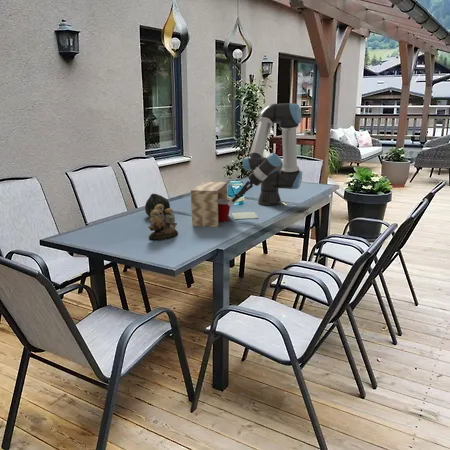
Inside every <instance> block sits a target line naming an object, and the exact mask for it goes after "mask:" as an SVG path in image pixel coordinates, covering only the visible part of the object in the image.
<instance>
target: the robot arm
mask: <svg viewBox="0 0 450 450" xmlns="http://www.w3.org/2000/svg"><path fill="white" fill-rule="evenodd" d="M256 121H257V127H256V131H255V134H254V138H253V139H252V140H253V142H252V145H251V148H250V152H249V154H248V156H246V157H244V158H243V159H242V167H243V169H244V170H245V171H250V172H251V171H252V172H251V173H250V174H249V175H248V179H249V180H247V181H246V183H245V184H244V185H242V187H241V189H240V190H238V192H236V193H234V195H233V197H231V199H229V200H230V201H229V202H228V203H227V204H228V205H229V206H230V208H231V207H232V206H233V205H234V204H235V203H236V202H237V201H238V200H239V199H241V197H242V196H243V195H245V194H246V193H247V192H248V191H249V190H250V189H252V188H253V187H254V186H255V187H258V186H259V185H260V193H259V196H258V200H257V204H258V205H260V206H265V207H266V206H268V207H269V206H271V207H273V206H279V205H281V204H282V199H281V195H280V193H279V189H282V190H283V189H285V190H298V189H299V188H300V187H301V184H302V179H303V171H301V170H300V167H299V166H298V164H297V163H298V162H297V160H298V158H297V152H298V151H297V129H298V128H299V124H301V123H302V111H301V106H300V104H298V103H292V102H291V103H290V102H288V103H287V102H285V103H271V104H269V105H268V106H266V107H264V108H263V110H262V111H261V112H260V114H259V115H258V118H257V120H256ZM275 124H279V126H278V127H279V128H280V129H281V142H282V158H280V156H279V155H278V154H276V153H275V152H271V153H270V154H269V155H268V156H267V157H263V155H264V152H265V148H266V144H267V140H268V137H269V133H270V131H271V128H272V127H273V125H275Z"/></svg>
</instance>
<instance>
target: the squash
mask: <svg viewBox="0 0 450 450" xmlns="http://www.w3.org/2000/svg"><path fill="white" fill-rule="evenodd" d="M158 204H162V205H163V206H164V209H163V212H164V210H165V209H167V208H171V205H170V202H169V200H168V199H167V198H166V197H164V196H162V195H161V194H157V193H151V194H150V195H149V198H148V199H147V200H146V202H145V206H144V207H145V208H144V209H145V213H146V215H147V216H148V217H149V218H151V216H150V213H151V211H153V210H154V208H155V206H156V205H158Z"/></svg>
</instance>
